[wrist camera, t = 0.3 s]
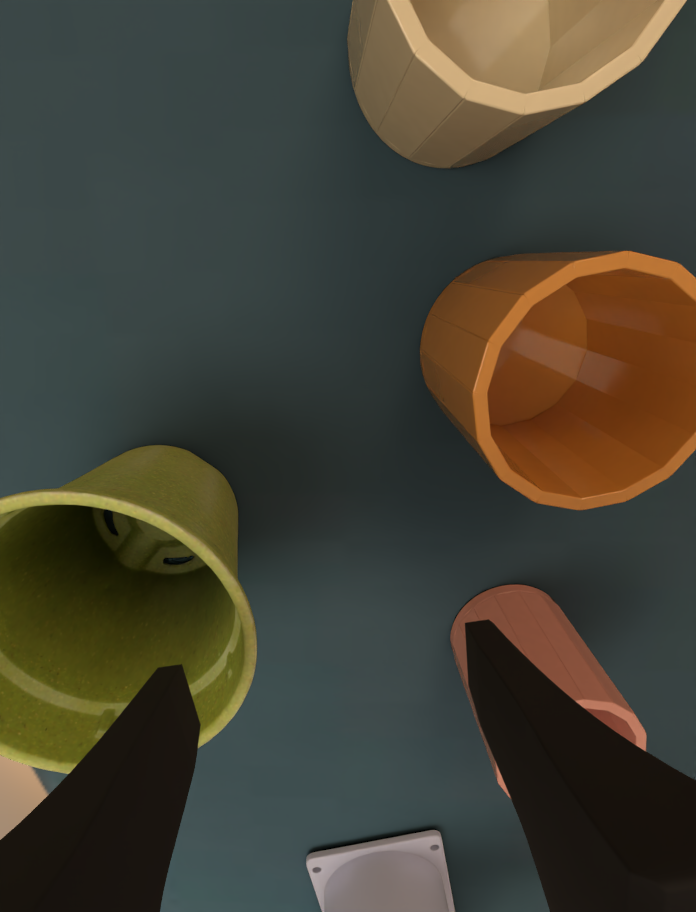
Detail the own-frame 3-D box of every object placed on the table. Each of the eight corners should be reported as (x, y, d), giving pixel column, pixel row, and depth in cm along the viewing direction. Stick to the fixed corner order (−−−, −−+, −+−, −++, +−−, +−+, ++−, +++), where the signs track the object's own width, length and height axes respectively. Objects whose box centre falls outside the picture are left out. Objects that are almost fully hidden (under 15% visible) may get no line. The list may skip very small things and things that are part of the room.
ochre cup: (590, 411, 22) (721, 483, 15) (431, 442, 22) (486, 529, 15) (587, 239, 19) (742, 227, 12) (408, 275, 19) (460, 284, 12)
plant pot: (15, 424, 20) (-181, 531, 12) (250, 384, 20) (208, 465, 12) (94, 615, 24) (-20, 799, 16) (296, 581, 24) (286, 747, 16)
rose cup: (563, 664, 27) (645, 796, 20) (456, 685, 27) (502, 823, 20) (559, 573, 25) (648, 687, 18) (443, 596, 25) (490, 717, 18)
